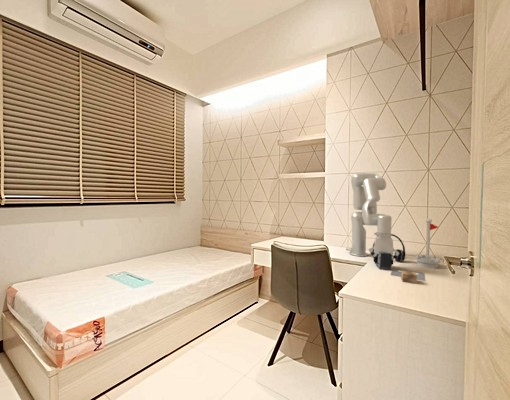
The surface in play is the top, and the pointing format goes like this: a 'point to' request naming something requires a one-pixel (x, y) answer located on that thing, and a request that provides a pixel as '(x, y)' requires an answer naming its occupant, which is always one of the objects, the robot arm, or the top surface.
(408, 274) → the walnut block
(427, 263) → the marker stand
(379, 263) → the small box
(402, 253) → the headphones
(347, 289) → the top surface
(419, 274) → the letter board
